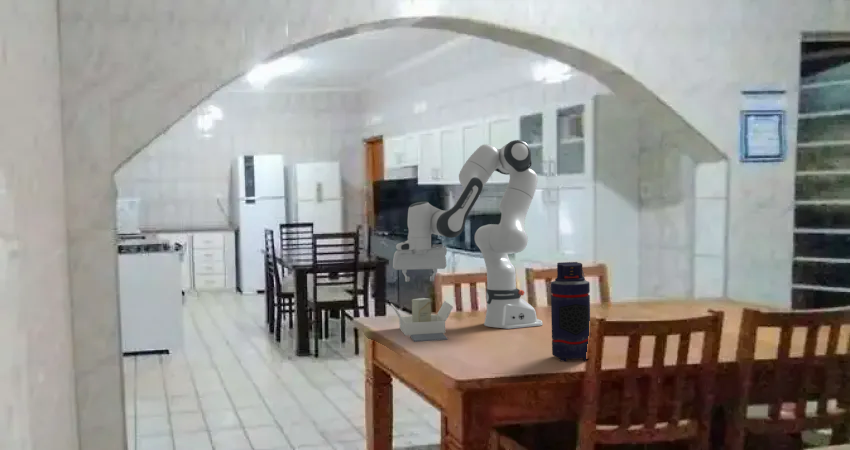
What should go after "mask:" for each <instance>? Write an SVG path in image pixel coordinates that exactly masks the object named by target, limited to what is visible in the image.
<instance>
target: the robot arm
mask: <svg viewBox="0 0 850 450" xmlns="http://www.w3.org/2000/svg"><path fill="white" fill-rule="evenodd" d="M531 156H532V152H531V147H530V145H529V144H528V143H527V142H525V141H523V140H520V139H515V140H511V141H509V142H508V143H507V144H504V146H502V147H501V148H496V147H495V146H493V145H491V144H487V143H486V144H485V143H484V144H482V145H480V146H479V147H478V148H477V149H476V150H474V152H473V153H471V155H470V156H469V157H468V159H467V160H466V161H465V162H464V164H463V166H462V167H461V168H460V169H461V170H460V172H459V173H458V180H459V183H460V185H461V186H462V191H461V193H460V195H459V197H458V198H457V199H456V201H455V202H454V205H453V206H452V207H451V208H450V209H447V210H444V209H443V210H442V209H440V208H438V207H436V206H434V205H432V204H431V203H429V201H417V202H415V203H412V204H410V205H409V207H408V209H407V210H408V211H407V228H408V234H407V240H404V241H402V242H399V243H396V245H395V249H396V250H395V252H394V253H393V259H392V268H393V269H394V270H395V271H401V272H402V274H403V275H404V277H405V280H404V281H405V282H406V283H407V282H408V283H409V282H411V281H410V280H411V277H410V276H407V275H408V274H406V273H407V271H411V270H412V271H413V270H414V271H415V270H432V272H433V273H432V275H430V276H429V282H435V277H436V275H437V273H438V270H442V269H443V270H445V269H446V268H447V257H446V256H447V247H446V246H445V245H443V244H442V243H441V244H434V243H433V244H432V235H434V236H435V235H436V236H441V237H446V238H450V239H454V238H457V237H458V236H460V235H461V234H462V232H463V231H464V228H465V225H466V221H467V218H468V216H469V214H470V212H471V211H472V210H473V207H474V205H475V204H476V202H477V200H479V199H478V198H479V197H480V195H481V193H482V190H483V188H484V187H485V185H486V183H487V182H488V181H489V179H490V178H491V176H492V175H493V173H494V172H497V173H499V174H502V175H507V176H509V181H508V184H507V186H506V188H505V191H504V193H503V195H502V198H501V199H500V202H499V204H498V205H499V206H498V210H499V212H500V213H501V216H500V221H499V223H498V224H496V223H495V224H494V223H493V224H492V223H491V224H490V223H488V224H485V225H482V226H480V227H479V228H478V229H476V231H475V233H474V243H475V245H476V247H478V248H479V250H480V252H481V255H482V257H483V260H484V264H485V268H486V279H487V280H486V282H487V283H486V284H487V288H486V292H485V299H486V300H485V301H486V314H485V319H484V323H483V325H484V326H485V327H490V328H498V329H499V328H501V329H507V330H508V329H509V330H510V329H519V328H528V327H529V328H530V327H539V326H543V324H544V323H543V321H542V319H539V318H537V313H536V310H535V308H534V307H533V306H532V304H530V303H528V301H526V300H524V298H522V296H524V295H525V290H523V289H519V288H517V282H516V280H517V275H516V268H515V265H513V264H512V261H511V260H510V258H509V255H513V254H517V253H521V252H523V251H524V250H525V249H526V248H527V246H528V243H529V242H528V241H529V240H528V234H527V232H526V231H525V224H526V223H525V222H526V217H527V213H528V211H529V210H530V209H529V208H530V207H531V206H530V205H531V203H532V200H533V199H534V196H535V192H536V189H537V185H538V180H539V177H538V175H537V173H536V172H535V170H533V169H531V167H532V157H531Z"/></svg>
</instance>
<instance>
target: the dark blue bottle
mask: <svg viewBox="0 0 850 450" xmlns="http://www.w3.org/2000/svg"><path fill="white" fill-rule="evenodd" d="M556 267H557V268H556V270H557V272H556V275H557V276H556V277H555V279H554V280H553V281H551V282H550V293H551V294H550V304H551V305H550V306H551V307H550V310H551V311H550V312H551V315H550V316H551V339H552V340H551V352H552V353H551V354H552V356H554V357H555V358H558V359H559V361H560V362H563V363H565V362H567V361H568V360H572V359H573V360H574V359H575V360H578V359H583V361H585V360H586V352H587V344H588V336H589V321H590V322H591V296H590V294H589V293H590V289H591V288H590V284H591V283H590V281H588V280H587V279H585V272H584V271H583V270H584V269H583V263H581V262H578V261H569V262H568V261H566V262H557V265H556ZM586 361H587V360H586Z"/></svg>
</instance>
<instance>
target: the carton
mask: <svg viewBox="0 0 850 450" xmlns="http://www.w3.org/2000/svg"><path fill="white" fill-rule="evenodd" d="M390 305H391V307H392V309H393V310H394V312H395V313H396V315H397V317H398V319H399V321H398V322H399V329H400V331H401V332H402V334H403V335H404V336H410V335H415V334H432V333H443V334H445V333H446V322H447V319H448V318H449V315H450V314H451V312H452V310H453V309H454V307H453V306H452V305H451V304H450V303H449V302H447V301H446V300H443V303H442V305H441V306H440V307H439V308H440V309H439V310H438V312H437V314H431V322H414V323H412V315H406V316H405V315H403V316H402V315H401V314H400V312H399V310H398V309H397V308H396V307H395V305H394V304H393V303H390Z"/></svg>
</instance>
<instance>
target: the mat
mask: <svg viewBox="0 0 850 450" xmlns="http://www.w3.org/2000/svg"><path fill="white" fill-rule="evenodd" d="M409 337H410V338H411V340H412V341H413V342H414V343H415V342H429V341H430V342H431V341H432V342H433V341H445V340H446V341H447V340H448V337H447V335H445V333H432V334H415V335H409Z"/></svg>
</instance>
